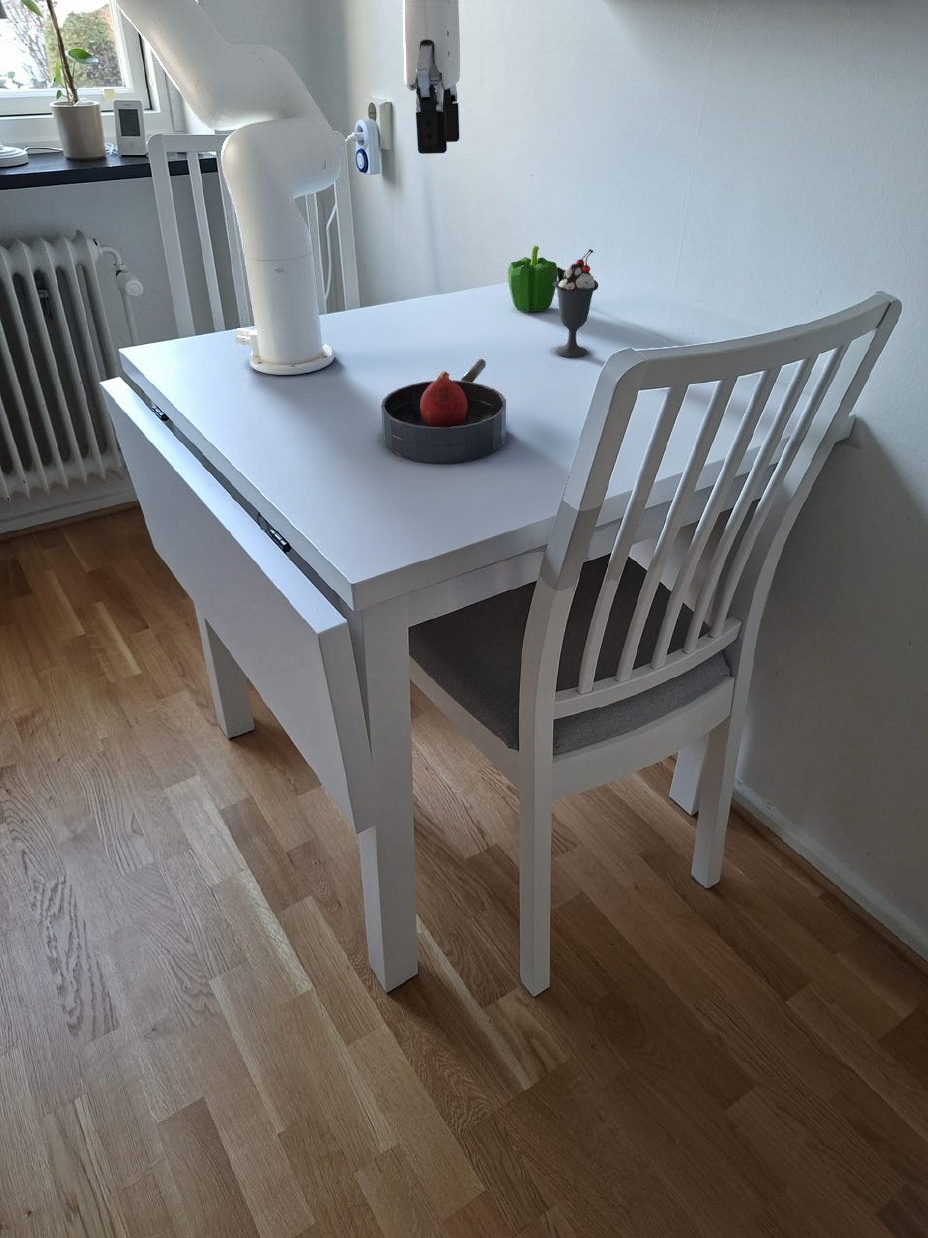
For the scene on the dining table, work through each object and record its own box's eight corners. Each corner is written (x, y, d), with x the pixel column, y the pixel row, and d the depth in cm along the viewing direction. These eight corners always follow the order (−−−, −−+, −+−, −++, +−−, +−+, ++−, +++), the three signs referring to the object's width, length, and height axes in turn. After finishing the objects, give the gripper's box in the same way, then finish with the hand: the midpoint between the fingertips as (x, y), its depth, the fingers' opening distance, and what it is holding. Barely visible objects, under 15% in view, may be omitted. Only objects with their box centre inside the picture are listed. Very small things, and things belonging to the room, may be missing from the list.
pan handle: (467, 392, 112) (466, 382, 111) (456, 391, 112) (456, 381, 112) (487, 367, 119) (487, 357, 119) (477, 367, 120) (477, 357, 119)
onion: (462, 446, 105) (461, 382, 101) (416, 442, 106) (413, 379, 102) (471, 427, 110) (471, 365, 105) (427, 423, 111) (425, 362, 106)
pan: (365, 455, 104) (362, 420, 102) (408, 408, 116) (407, 375, 114) (486, 470, 101) (486, 434, 98) (518, 420, 112) (519, 386, 110)
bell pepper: (541, 319, 147) (544, 256, 141) (500, 311, 150) (500, 250, 144) (564, 306, 152) (568, 245, 146) (524, 299, 156) (525, 240, 150)
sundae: (600, 356, 131) (609, 251, 123) (559, 361, 130) (564, 255, 121) (583, 342, 136) (590, 241, 128) (543, 347, 135) (547, 245, 126)
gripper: (411, -33, 98) (421, 138, 108) (378, -39, 84) (392, 158, 94) (477, -37, 97) (480, 136, 107) (454, -43, 83) (461, 157, 93)
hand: (439, 146), depth 101 cm, fingers open, 9 cm apart
